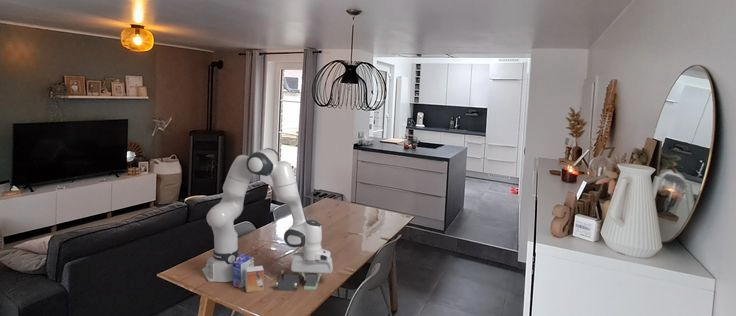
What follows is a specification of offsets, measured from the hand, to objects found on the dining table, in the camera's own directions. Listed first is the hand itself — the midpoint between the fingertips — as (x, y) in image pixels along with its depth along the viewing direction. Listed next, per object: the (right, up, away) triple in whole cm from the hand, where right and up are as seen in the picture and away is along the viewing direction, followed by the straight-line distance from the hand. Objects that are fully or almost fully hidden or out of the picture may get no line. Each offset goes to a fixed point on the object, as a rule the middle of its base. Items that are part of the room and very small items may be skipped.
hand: (311, 280), depth 204 cm
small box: (-26, -3, -6) cm, 27 cm away
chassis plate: (-12, -2, +1) cm, 12 cm away
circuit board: (0, -2, 0) cm, 3 cm away
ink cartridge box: (-33, -1, -1) cm, 33 cm away
